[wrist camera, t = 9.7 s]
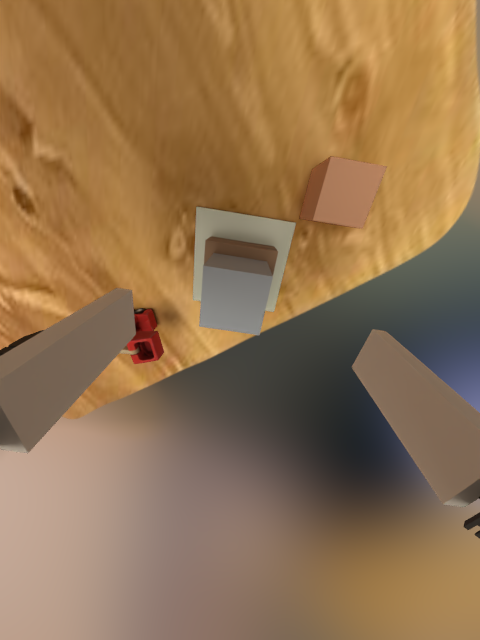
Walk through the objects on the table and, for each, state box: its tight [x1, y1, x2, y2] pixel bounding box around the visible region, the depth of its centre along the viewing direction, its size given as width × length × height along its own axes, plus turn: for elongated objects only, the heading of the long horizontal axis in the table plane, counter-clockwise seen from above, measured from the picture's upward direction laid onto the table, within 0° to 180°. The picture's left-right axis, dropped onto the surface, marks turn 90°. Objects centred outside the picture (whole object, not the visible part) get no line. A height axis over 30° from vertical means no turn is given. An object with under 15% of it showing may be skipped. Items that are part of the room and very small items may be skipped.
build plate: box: [193, 207, 296, 312], centre depth 27 cm, size 12×12×1 cm
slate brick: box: [199, 253, 273, 335], centre depth 21 cm, size 6×6×6 cm
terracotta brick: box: [299, 156, 387, 228], centre depth 21 cm, size 5×5×6 cm
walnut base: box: [204, 236, 278, 276], centre depth 26 cm, size 8×8×4 cm
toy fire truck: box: [120, 308, 164, 364], centre depth 28 cm, size 3×14×10 cm, turn 95°
